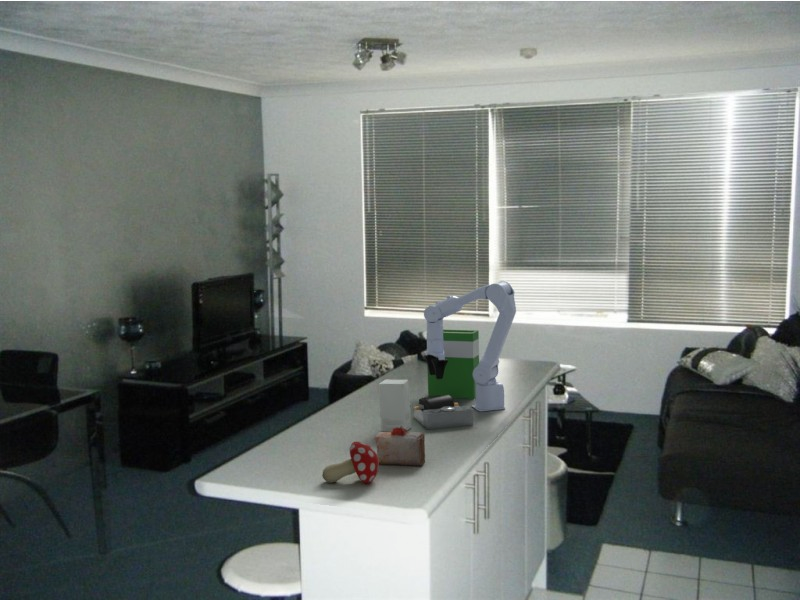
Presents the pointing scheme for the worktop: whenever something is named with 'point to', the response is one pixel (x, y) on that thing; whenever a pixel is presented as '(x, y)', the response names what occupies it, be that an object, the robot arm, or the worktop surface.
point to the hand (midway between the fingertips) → (436, 376)
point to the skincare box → (394, 404)
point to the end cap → (436, 402)
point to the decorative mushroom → (355, 465)
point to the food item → (400, 447)
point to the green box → (457, 365)
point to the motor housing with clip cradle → (444, 416)
